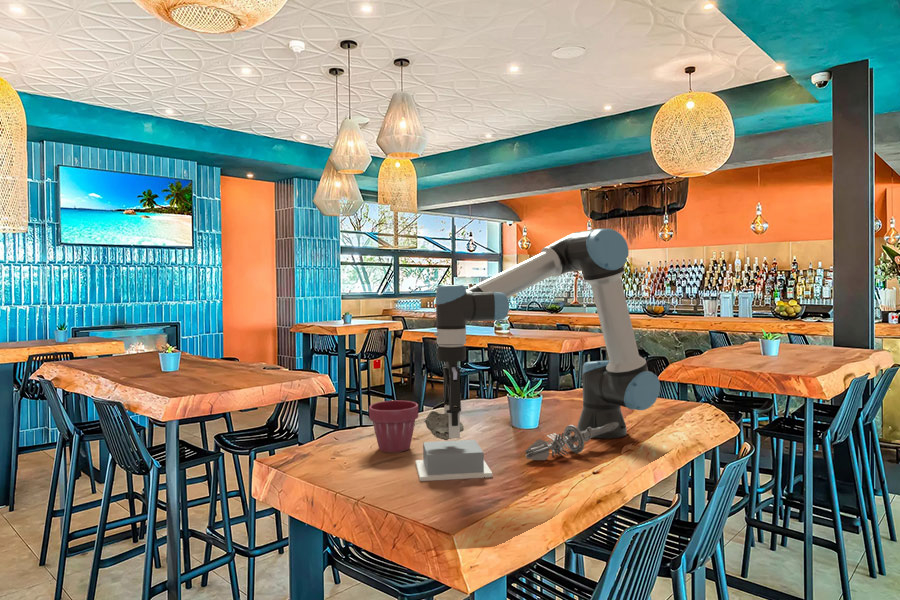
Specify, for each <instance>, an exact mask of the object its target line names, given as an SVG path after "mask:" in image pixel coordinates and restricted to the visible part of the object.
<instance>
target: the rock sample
mask: <svg viewBox="0 0 900 600" xmlns="http://www.w3.org/2000/svg"><path fill="white" fill-rule="evenodd" d="M423 422H424V423H425V426H426V429H428V430H429V431H430V433H431V434H432V436H434V438H436V439H440V440H443V441H449V440H450V439H449V414H444V413H440V412H438V411H435V410H431V411H430V412H429V413H428V415H427V416H426V418H425V420H423ZM464 430H465V429H464V424H463V423H462V422H461V421H460V433H461V432H463V431H464Z"/></svg>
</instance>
